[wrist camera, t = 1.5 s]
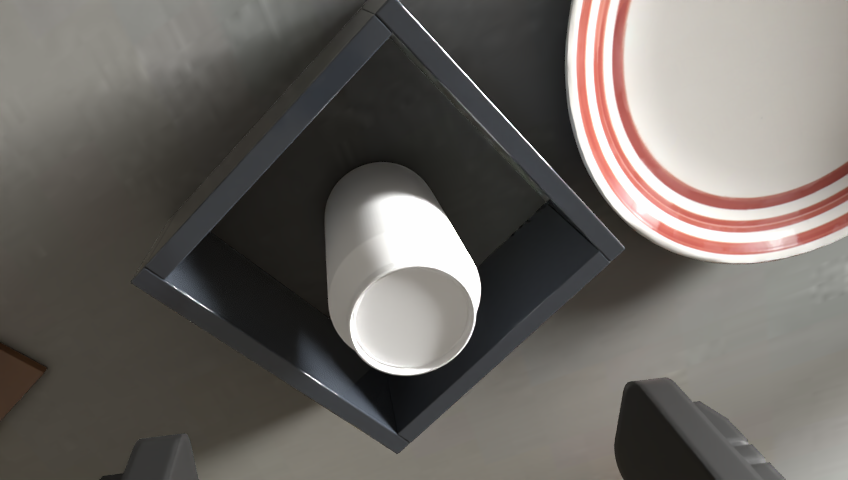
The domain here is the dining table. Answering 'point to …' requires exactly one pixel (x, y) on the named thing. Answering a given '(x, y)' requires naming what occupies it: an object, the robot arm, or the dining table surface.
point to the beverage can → (397, 272)
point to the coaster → (16, 377)
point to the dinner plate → (715, 121)
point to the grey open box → (310, 329)
